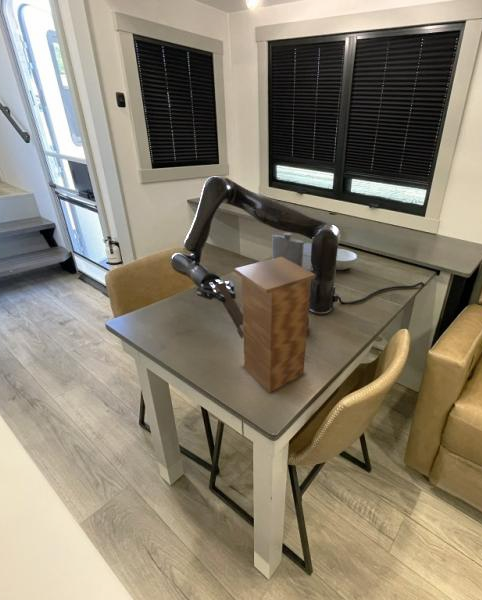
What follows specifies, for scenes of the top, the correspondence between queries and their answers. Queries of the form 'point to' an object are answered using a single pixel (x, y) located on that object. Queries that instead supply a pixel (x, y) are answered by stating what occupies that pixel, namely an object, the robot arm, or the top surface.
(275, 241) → the hip flask
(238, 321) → the handle stick
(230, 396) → the top surface
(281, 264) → the oak stand
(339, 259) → the cereal bowl
